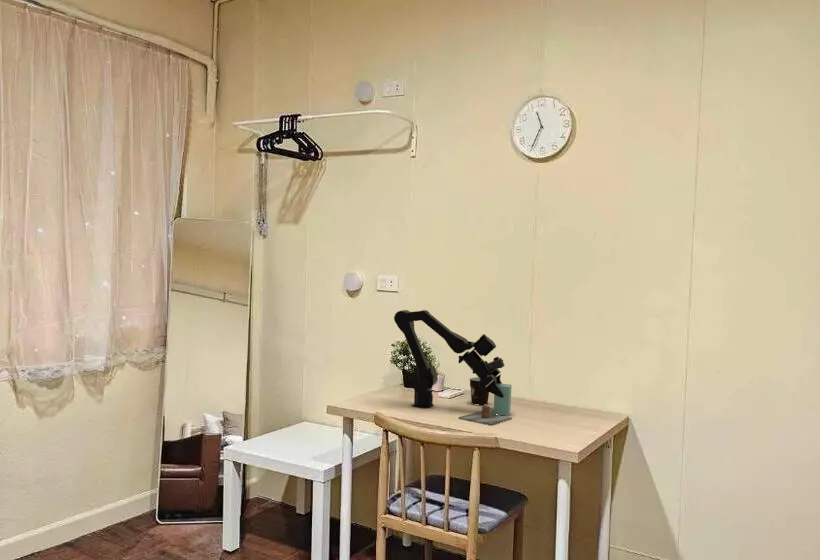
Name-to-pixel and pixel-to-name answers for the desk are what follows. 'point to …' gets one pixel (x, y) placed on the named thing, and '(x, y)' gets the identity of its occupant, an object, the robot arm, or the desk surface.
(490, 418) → the flat grey base tile
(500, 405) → the teal rectangular pillar
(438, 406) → the desk surface
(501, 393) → the robot arm
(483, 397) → the coffee mug
